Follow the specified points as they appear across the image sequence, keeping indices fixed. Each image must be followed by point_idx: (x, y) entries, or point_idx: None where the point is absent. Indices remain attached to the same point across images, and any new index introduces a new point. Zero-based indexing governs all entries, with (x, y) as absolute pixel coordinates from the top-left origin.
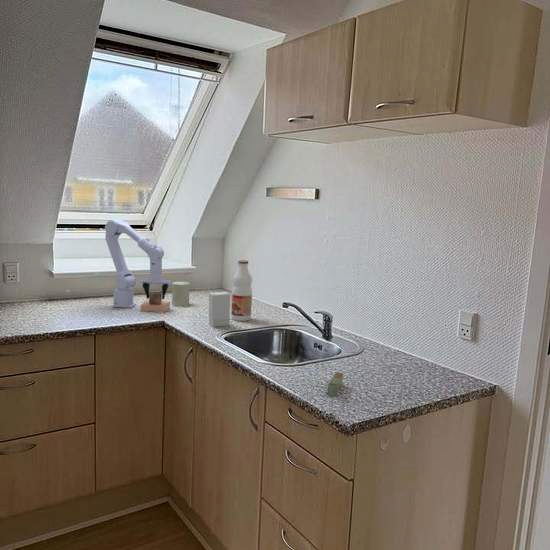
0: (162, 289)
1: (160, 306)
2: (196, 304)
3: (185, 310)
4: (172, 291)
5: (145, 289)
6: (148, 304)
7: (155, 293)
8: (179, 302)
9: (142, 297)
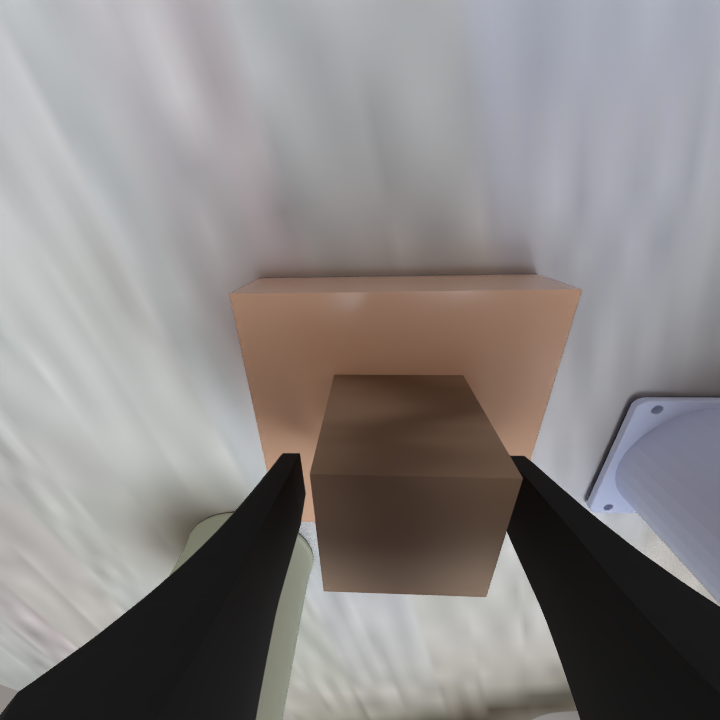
0: (206, 620)
1: (291, 293)
2: (155, 566)
3: (117, 397)
4: (272, 682)
5: (694, 612)
6: (470, 357)
7: (411, 550)
8: None
9: (535, 655)
